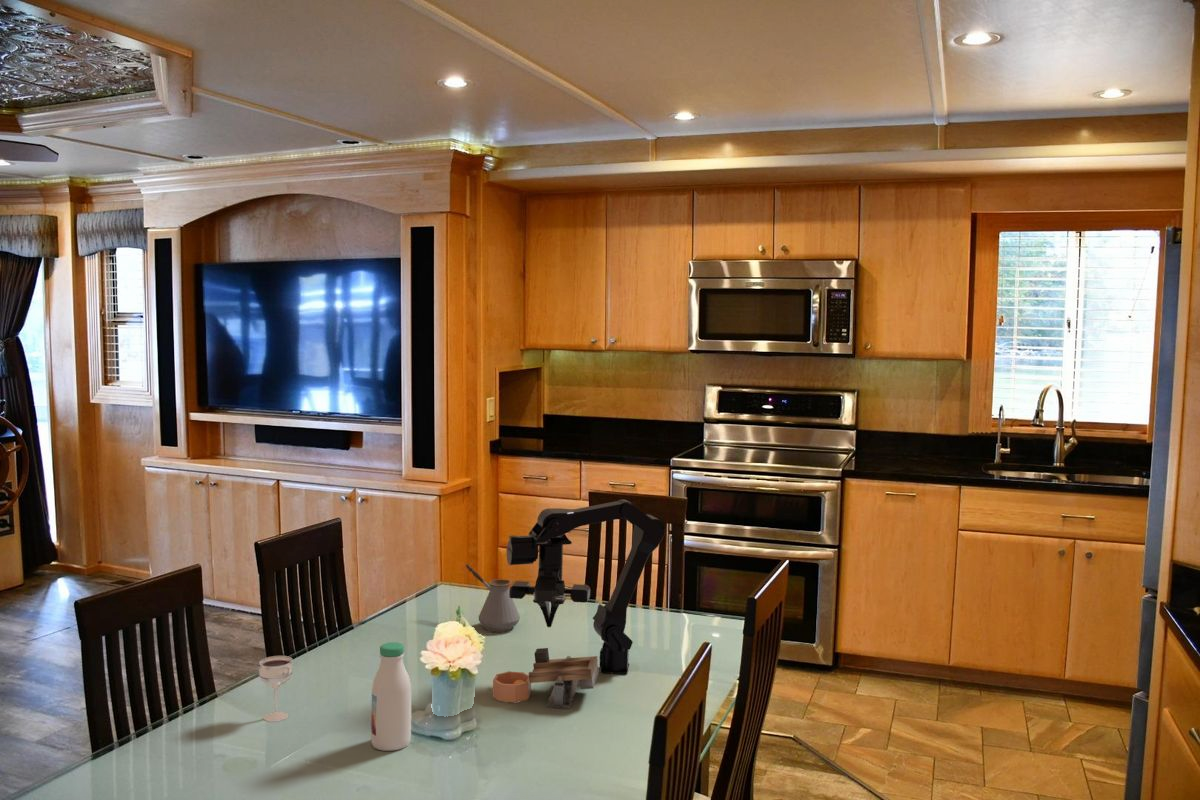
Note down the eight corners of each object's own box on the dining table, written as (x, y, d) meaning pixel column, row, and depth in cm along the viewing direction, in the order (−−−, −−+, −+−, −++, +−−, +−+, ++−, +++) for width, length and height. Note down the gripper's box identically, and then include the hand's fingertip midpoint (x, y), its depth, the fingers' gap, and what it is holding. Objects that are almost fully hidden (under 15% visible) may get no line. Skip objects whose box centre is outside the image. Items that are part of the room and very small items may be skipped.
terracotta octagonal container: (532, 689, 211) (533, 672, 211) (525, 703, 203) (526, 686, 203) (498, 687, 212) (498, 670, 212) (490, 701, 204) (490, 683, 204)
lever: (599, 668, 215) (596, 641, 214) (592, 692, 201) (588, 662, 200) (541, 672, 216) (537, 645, 216) (529, 696, 202) (526, 667, 202)
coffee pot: (528, 628, 255) (529, 575, 254) (496, 637, 247) (497, 582, 246) (480, 610, 270) (480, 560, 269) (448, 618, 262) (449, 567, 261)
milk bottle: (418, 738, 185) (419, 641, 183) (397, 754, 178) (398, 654, 176) (385, 732, 187) (385, 636, 186) (363, 748, 180) (364, 648, 179)
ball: (512, 678, 209) (515, 692, 209) (509, 683, 206) (512, 697, 206) (526, 676, 209) (529, 689, 209) (523, 681, 206) (526, 695, 206)
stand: (578, 683, 216) (579, 662, 216) (569, 709, 201) (569, 686, 201) (558, 681, 217) (558, 660, 216) (547, 707, 202) (547, 684, 201)
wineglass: (261, 725, 189) (261, 669, 188) (256, 713, 195) (256, 658, 194) (295, 720, 192) (295, 664, 191) (290, 708, 198) (290, 653, 197)
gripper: (504, 569, 211) (503, 635, 213) (584, 573, 209) (583, 640, 210) (514, 557, 222) (513, 620, 224) (591, 561, 220) (589, 625, 221)
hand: (549, 626), depth 219 cm, fingers closed
